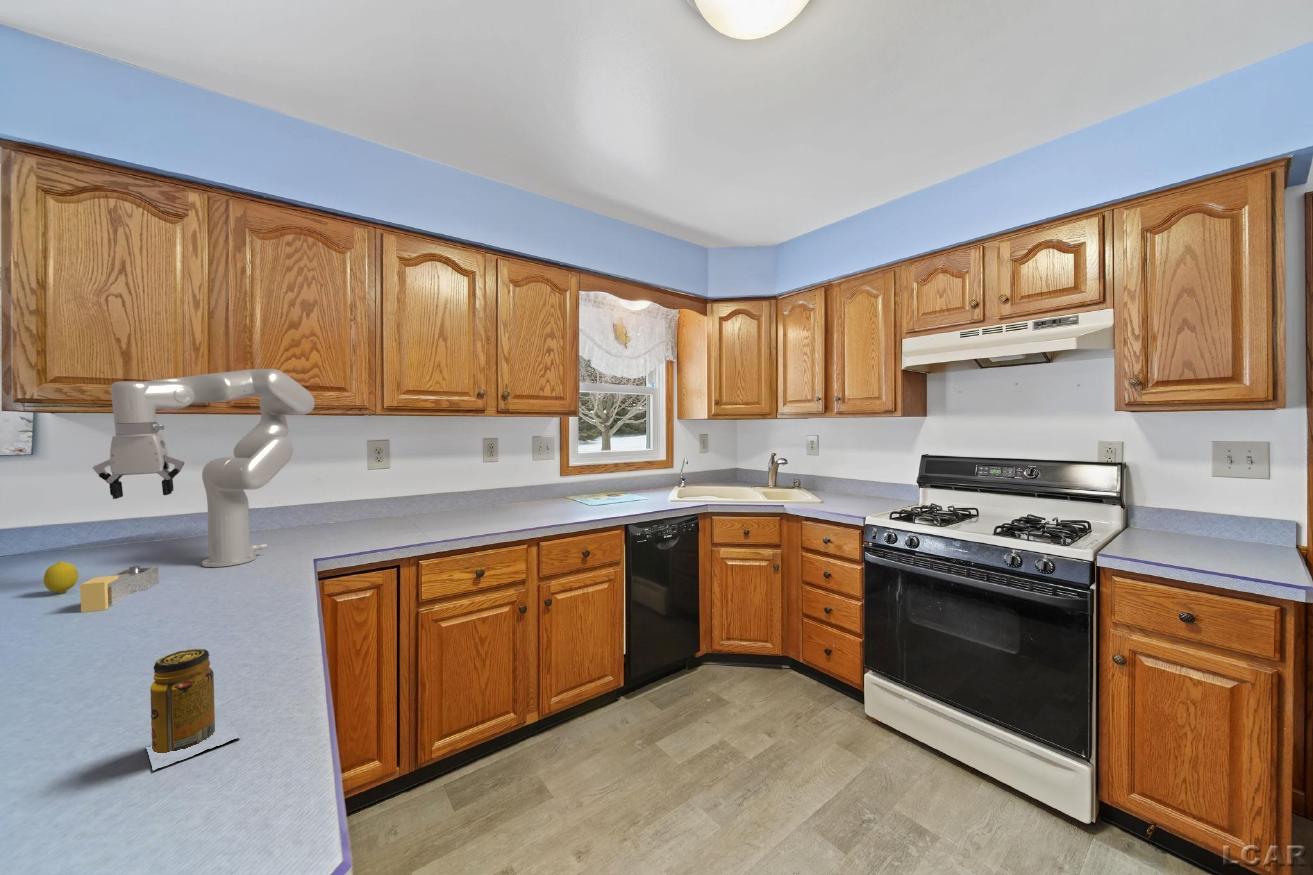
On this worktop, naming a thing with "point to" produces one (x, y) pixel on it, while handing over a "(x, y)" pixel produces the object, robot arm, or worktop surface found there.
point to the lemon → (60, 577)
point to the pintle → (134, 569)
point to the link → (131, 583)
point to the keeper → (95, 593)
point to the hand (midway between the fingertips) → (143, 496)
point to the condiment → (182, 700)
